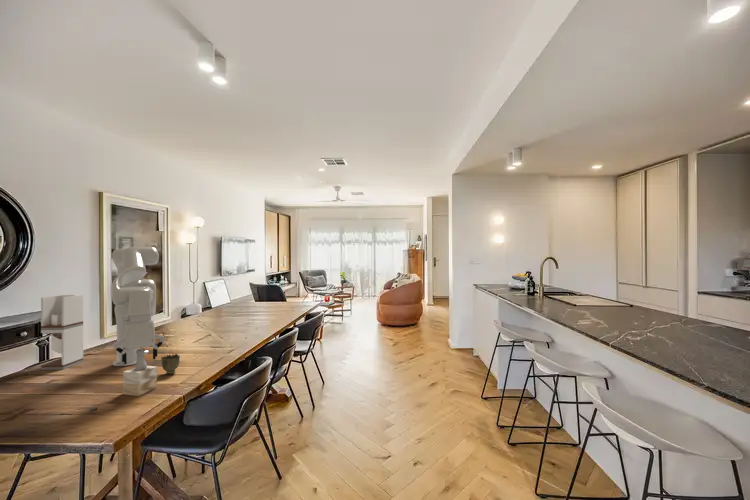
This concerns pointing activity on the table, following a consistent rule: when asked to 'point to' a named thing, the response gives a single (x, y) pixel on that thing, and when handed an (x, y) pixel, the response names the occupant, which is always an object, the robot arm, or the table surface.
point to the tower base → (139, 388)
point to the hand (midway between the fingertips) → (140, 361)
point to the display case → (63, 328)
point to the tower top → (139, 375)
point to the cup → (170, 363)
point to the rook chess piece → (140, 360)
